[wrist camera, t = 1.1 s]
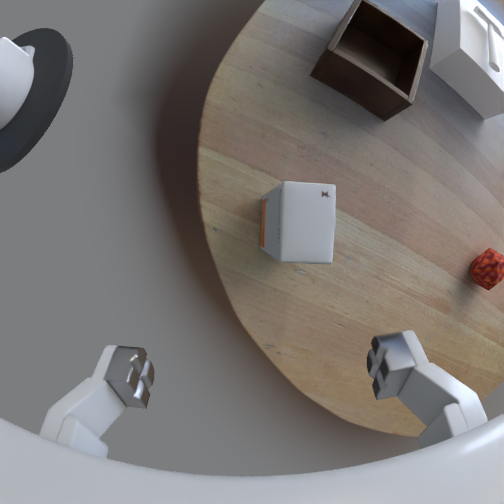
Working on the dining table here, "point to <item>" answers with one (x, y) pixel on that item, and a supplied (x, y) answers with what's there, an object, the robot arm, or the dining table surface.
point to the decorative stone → (488, 269)
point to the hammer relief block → (470, 54)
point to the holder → (373, 60)
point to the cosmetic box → (299, 222)
